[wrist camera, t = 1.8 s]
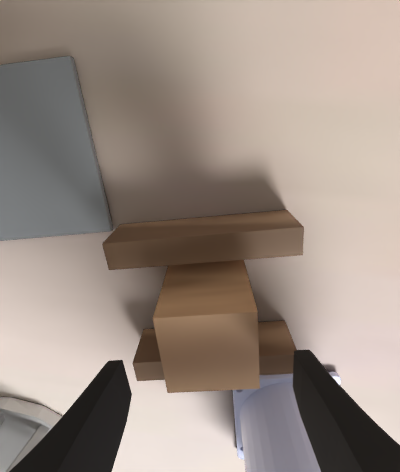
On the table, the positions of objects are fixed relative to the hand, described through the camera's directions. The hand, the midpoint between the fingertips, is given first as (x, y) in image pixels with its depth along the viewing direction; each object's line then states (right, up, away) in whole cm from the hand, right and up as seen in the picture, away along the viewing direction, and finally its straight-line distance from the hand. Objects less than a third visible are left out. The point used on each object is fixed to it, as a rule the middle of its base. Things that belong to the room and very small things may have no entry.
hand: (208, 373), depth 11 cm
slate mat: (-11, +10, +4) cm, 15 cm away
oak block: (0, +3, +7) cm, 7 cm away
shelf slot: (0, +3, +6) cm, 7 cm away
